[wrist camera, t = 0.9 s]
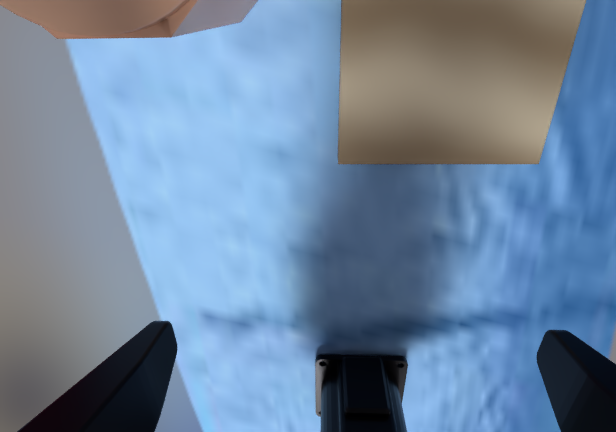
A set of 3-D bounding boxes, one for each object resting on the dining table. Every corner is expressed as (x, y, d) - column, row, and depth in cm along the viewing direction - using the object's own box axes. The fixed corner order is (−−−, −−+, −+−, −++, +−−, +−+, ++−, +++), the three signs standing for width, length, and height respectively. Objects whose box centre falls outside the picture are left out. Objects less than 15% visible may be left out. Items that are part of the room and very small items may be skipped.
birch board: (529, 156, 20) (538, 164, 19) (337, 157, 21) (338, 164, 20) (613, -149, 14) (632, -159, 14) (345, -141, 15) (346, -150, 14)
